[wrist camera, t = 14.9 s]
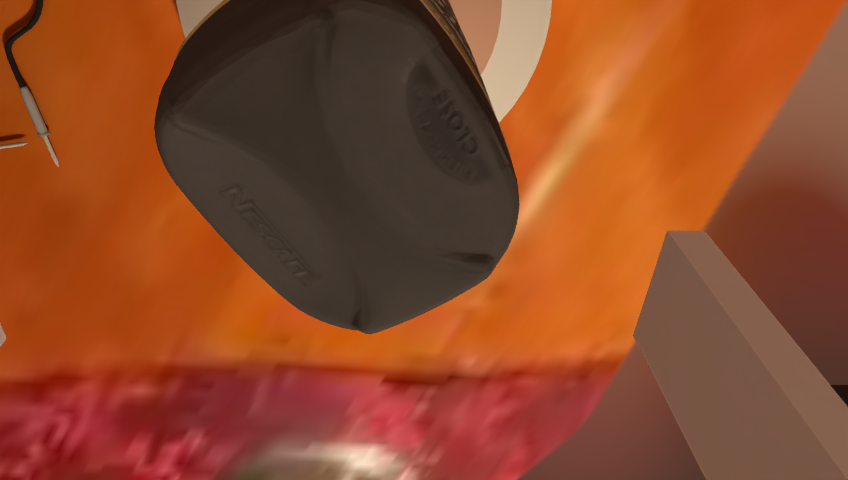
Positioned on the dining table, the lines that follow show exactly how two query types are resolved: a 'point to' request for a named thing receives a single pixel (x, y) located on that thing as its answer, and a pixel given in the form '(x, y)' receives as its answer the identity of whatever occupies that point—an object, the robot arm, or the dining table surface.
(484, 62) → the trivet
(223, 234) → the coffee jar
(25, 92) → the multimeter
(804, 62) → the dining table surface
